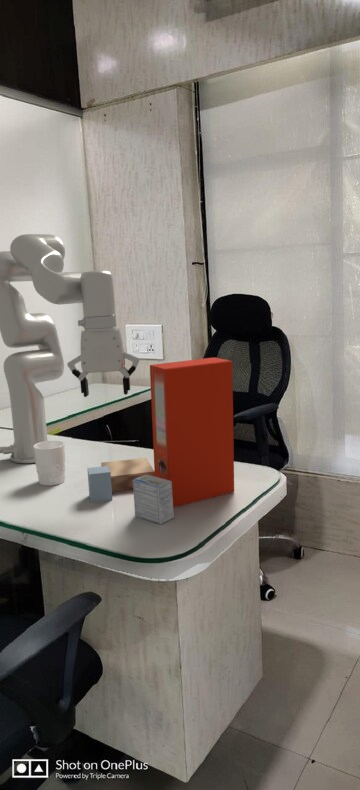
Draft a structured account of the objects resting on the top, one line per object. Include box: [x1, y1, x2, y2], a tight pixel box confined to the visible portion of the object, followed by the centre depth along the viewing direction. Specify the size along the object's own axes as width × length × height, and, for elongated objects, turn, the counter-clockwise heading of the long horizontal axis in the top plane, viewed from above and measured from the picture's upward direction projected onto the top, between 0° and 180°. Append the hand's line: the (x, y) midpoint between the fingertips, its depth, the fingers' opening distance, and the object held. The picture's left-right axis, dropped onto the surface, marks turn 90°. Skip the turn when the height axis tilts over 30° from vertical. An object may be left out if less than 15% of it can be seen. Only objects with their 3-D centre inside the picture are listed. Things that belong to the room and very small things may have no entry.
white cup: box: [33, 440, 66, 487], centre depth 159 cm, size 8×8×10 cm
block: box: [86, 466, 113, 503], centre depth 146 cm, size 5×5×7 cm
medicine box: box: [132, 475, 175, 525], centre depth 133 cm, size 8×4×9 cm, turn 48°
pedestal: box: [100, 457, 155, 493], centre depth 157 cm, size 12×12×4 cm
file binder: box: [149, 357, 235, 508], centre depth 143 cm, size 8×17×32 cm, turn 119°
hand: (106, 394), depth 148 cm, fingers open, 9 cm apart
